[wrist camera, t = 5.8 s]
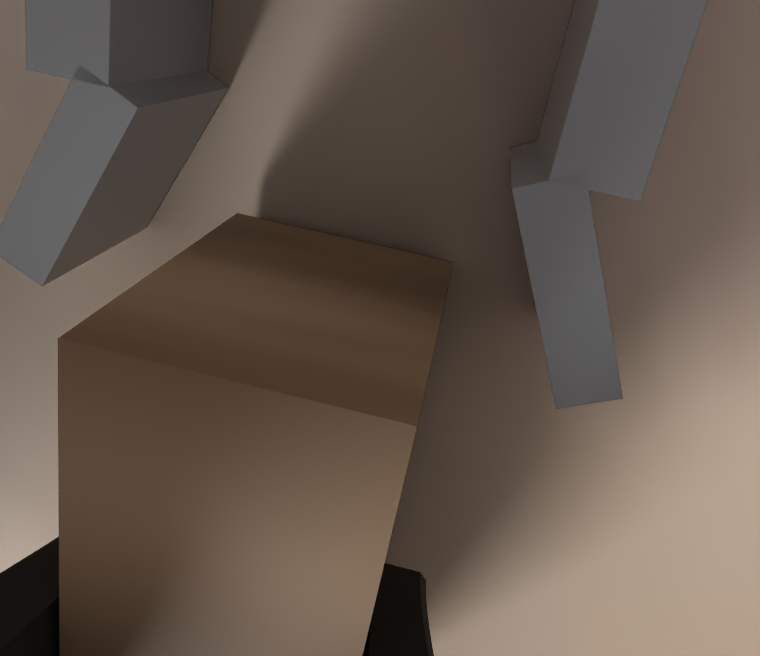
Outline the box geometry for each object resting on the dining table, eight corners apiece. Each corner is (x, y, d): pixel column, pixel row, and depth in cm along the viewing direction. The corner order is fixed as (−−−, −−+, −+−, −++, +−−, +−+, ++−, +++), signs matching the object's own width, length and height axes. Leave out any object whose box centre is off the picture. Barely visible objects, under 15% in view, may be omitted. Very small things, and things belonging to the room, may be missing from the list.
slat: (349, 702, 15) (281, 991, 11) (191, 659, 15) (60, 923, 11) (453, 262, 11) (417, 426, 7) (237, 213, 11) (58, 338, 7)
